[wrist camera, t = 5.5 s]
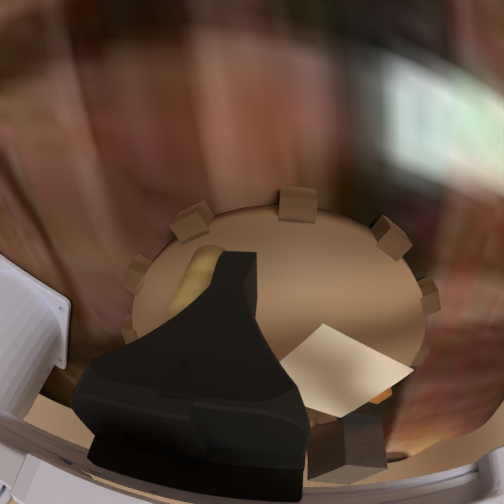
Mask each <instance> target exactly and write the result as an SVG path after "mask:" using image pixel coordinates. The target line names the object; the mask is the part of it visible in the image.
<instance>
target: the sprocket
mask: <svg viewBox="0 0 504 504" xmlns="http://www.w3.org/2000/svg"><path fill="white" fill-rule="evenodd" d="M317 205H318V197H317V193H316V190H315V188H305V187H294V186H281V185H280V197H279V205H262V206H253V207H245V208H241V209H237V210H233V211H228V212H224V213H221V214H218V215H216V216H214V214H213V213H212V211H211V210H210V208H209V206H208V205H207V203H206V202H205V200H203V201H201V202H199V203H197V204H195V205H193V206H191V207H189V208H187V209H185V210H183V211H181V212H179V213H178V214H177V215H176V217H175V218H174V220H173V221H172V222H171V224H170V225H169V226H170V228H171V229H172V231H173V232H174V234H175V235H176V237H175V238H174V239H173V240H172V241H170V242H169V243H168V244H167V245H166V246H165V247H164V248H163V249H162V251H161V252H160V253H159V254H158V255H157V256H156V257H155V259H154V261H153V262H152V261H151V260H149V259H147V258H146V257H144V256H142V255H140V254H139V253H138V254H137V256H136V257H135V259H134V260H133V262H132V263H131V264H130V266H129V268H128V270H127V272H126V275H125V277H124V280H123V282H122V284H121V287H123V288H125V289H127V290H128V291H130V292H132V293H134V294H135V297H134V302H133V308H132V314H127V316H126V318H125V320H124V321H123V323H122V325H121V327H120V329H121V332H122V335H123V338H124V341H125V343H126V344H129V343H131V342H133V341H135V340H137V339H139V338H141V337H142V336H144V335H146V334H148V333H150V332H151V331H153V330H154V329H156V328H158V327H159V326H161V325H162V324H164V323H165V322H167V321H168V320H170V319H171V318H173V317H174V316H176V315H177V314H178V313H179V312H181V311H182V310H183V309H184V308H186V307H187V306H188V305H189V304H190V303H191V302H193V301H194V300H195V299H196V298H197V297H198V296H199V295H200V294H201V293H202V292H203V291H204V290H205V289H206V288H207V287H208V286H209V285H210V283H211V280H212V276H213V273H214V269H215V266H216V262H217V260H218V258H219V256H220V255H221V254H222V252H223V251H243V252H257V295H258V298H257V308H256V317H255V319H256V321H257V323H258V326H259V328H260V330H261V332H262V334H263V336H264V338H265V339H266V341H267V343H268V345H269V346H270V348H271V350H272V352H273V353H274V355H275V356H276V358H277V359H278V361H279V362H280V364H281V365H282V367H283V368H284V370H285V371H286V372H287V374H288V375H289V376H290V377H291V379H292V380H293V381H294V382H295V384H296V385H297V386H298V389H299V392H300V394H301V397H302V400H303V402H304V405H305V408H306V411H307V414H308V418H309V421H313V420H316V421H317V422H318V424H323V423H328V422H332V421H336V420H337V417H340V418H341V417H343V416H345V415H346V414H348V413H350V412H351V411H353V410H355V409H357V408H358V407H360V406H361V405H363V404H365V403H367V402H372V403H375V404H378V403H379V402H381V401H383V400H384V399H386V398H387V397H389V396H390V395H392V391H391V386H392V385H394V384H395V383H397V382H398V381H400V380H401V379H403V378H404V377H405V376H407V375H408V374H410V373H411V372H412V371H413V369H411V368H409V367H410V366H420V365H422V364H423V363H424V361H425V359H426V358H427V356H428V354H429V353H430V351H431V349H430V346H429V344H428V341H427V339H426V336H425V328H426V316H427V315H430V314H432V313H434V312H437V311H439V310H441V308H440V300H439V292H438V289H437V287H436V285H435V284H434V282H433V280H432V278H431V277H430V276H428V277H426V278H424V279H421V280H419V281H416V280H415V278H414V276H413V274H412V272H411V270H410V268H409V266H408V264H407V263H406V261H405V260H404V259H403V257H402V256H403V255H404V254H405V253H406V252H407V251H408V250H409V249H410V248H411V247H412V246H413V245H412V244H411V242H410V240H409V239H408V237H407V236H406V234H405V233H404V231H402V230H401V229H400V228H399V227H398V226H396V225H395V224H394V223H393V222H392V221H390V220H389V219H388V218H387V217H385V216H384V215H382V216H381V217H380V219H379V220H378V221H377V222H376V223H375V224H374V225H373V227H372V228H371V229H370V228H369V227H367V226H365V225H364V224H361V223H359V222H357V221H355V220H353V219H350V218H348V217H346V216H344V215H340V214H337V213H333V212H330V211H327V210H323V209H318V208H317Z"/></svg>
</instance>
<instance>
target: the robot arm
mask: <svg viewBox="0 0 504 504" xmlns="http://www.w3.org/2000/svg"><path fill="white" fill-rule="evenodd" d="M257 298H258V295H257V252H243V251H223V252H222V254H221V255H220V256H219V258H218V260H217V262H216V266H215V269H214V273H213V276H212V280H211V283H210V285H209V286H208V287H207V288H206V289H205V290H204V291H203V292H202V293H201V294H200V295H199V296H198V297H197V298H196V299H195V300H194V301H193V302H191V303H190V304H189V305H188V306H187V307H186V308H184V309H183V310H182V311H181V312H179V313H178V314H177V315H176V316H174V317H173V318H171V319H170V320H168V321H167V322H165V323H164V324H162V325H161V326H159V327H158V328H156V329H154V330H153V331H151V332H150V333H148V334H146V335H144V336H142V337H141V338H139V339H137V340H135V341H133V342H131V343H129V344H127V345H125V346H123V347H121V348H118V349H116V350H113V351H111V352H109V353H106V354H104V355H101V356H99V357H96V358H93V359H91V360H90V362H89V363H88V365H87V367H86V368H85V370H84V372H83V374H82V376H81V378H80V379H79V381H78V383H77V385H76V387H75V389H74V391H73V393H72V395H71V398H70V404H71V407H72V409H73V411H74V412H75V414H76V415H77V416H78V417H79V419H80V420H81V421H82V422H83V423H84V424H85V425H86V426H87V428H88V429H89V430H90V431H91V432H92V433H93V434H94V435H95V437H94V439H93V442H92V444H91V447H90V449H87V448H84V447H82V446H79V445H76V444H74V443H72V442H69V441H67V440H64V439H62V438H60V437H57V436H55V435H53V434H51V433H48V432H46V431H44V430H42V429H40V428H38V427H35V426H34V425H32V424H29V423H27V422H26V421H24V420H22V419H24V417H26V415H27V414H28V412H29V411H30V409H31V407H32V405H33V403H34V401H35V399H36V397H37V395H38V394H39V392H40V390H41V388H42V386H43V384H44V383H45V381H46V379H47V377H48V375H49V374H50V372H51V370H52V368H53V367H54V365H56V366H58V367H59V368H61V369H65V368H66V366H67V347H68V333H69V321H70V311H71V303H70V301H69V300H68V299H67V298H66V297H64V296H63V295H61V294H59V293H58V292H56V291H55V290H53V289H51V288H50V287H48V286H47V285H45V284H43V283H42V282H40V281H39V280H37V279H36V278H34V277H33V276H31V275H30V274H28V273H27V272H25V271H24V270H22V269H21V268H19V267H18V266H16V265H15V264H13V263H12V262H11V261H9V260H8V259H6V258H5V257H4V256H2V255H1V254H0V504H9V503H10V502H11V500H12V499H14V500H15V501H16V502H18V503H19V504H169V503H165V502H162V501H158V500H155V499H152V498H148V497H145V496H142V495H138V494H135V493H132V492H128V491H125V490H122V489H119V488H116V487H113V486H110V485H108V484H105V483H102V482H99V481H97V480H94V479H93V478H92V477H91V476H90V475H88V474H86V473H84V472H87V473H90V474H92V475H94V476H97V477H100V478H103V479H105V480H108V481H111V482H114V483H117V484H120V485H123V486H126V487H129V488H132V489H136V490H139V491H142V492H146V493H150V494H153V495H157V496H161V497H165V498H170V499H174V500H179V501H183V502H189V503H194V504H504V445H503V446H500V447H498V448H495V449H494V450H491V451H489V452H488V453H486V454H485V455H484V456H482V457H481V458H480V459H479V460H478V461H477V462H475V463H471V464H468V465H464V466H461V467H457V468H454V469H450V470H446V471H442V472H437V473H433V474H428V475H424V476H419V477H414V478H408V479H402V480H396V481H389V482H382V483H374V484H364V485H353V486H340V487H339V486H338V487H307V488H306V487H303V471H304V468H305V453H306V450H307V447H308V444H309V442H310V438H311V429H310V422H309V418H308V414H307V411H306V408H305V405H304V402H303V400H302V397H301V394H300V392H299V389H298V386H297V385H296V384H295V382H294V381H293V380H292V379H291V377H290V376H289V375H288V374H287V372H286V371H285V370H284V368H283V367H282V365H281V364H280V362H279V361H278V359H277V358H276V356H275V355H274V353H273V352H272V350H271V348H270V346H269V345H268V343H267V341H266V339H265V338H264V336H263V334H262V332H261V330H260V328H259V326H258V323H257V321H256V319H255V317H256V308H257ZM78 469H79V470H78ZM80 470H82V471H84V472H82V471H80Z"/></svg>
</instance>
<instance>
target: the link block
mask: <svg viewBox="0 0 504 504" xmlns="http://www.w3.org/2000/svg"><path fill="white" fill-rule="evenodd" d="M310 429H311V438H310V442H309V444H308V477H307V480H308V481H316V482H325V483H336V484H351V483H354V482H357V481H359V480H362V479H364V478H367V477H369V476H372V475H374V474H376V473H378V472H381V471H383V470H386V469H387V459H386V451H385V444H384V437H383V430H382V424H381V418H378V417H373V416H369V415H365V414H361V413H357V412H353V411H351V412H350V413H348V414H346V415H345V416H343V417H341V418H340V417H337V420H336V421H332V422H328V423H323V424H317V425H315V426H313V427H312V428H310Z"/></svg>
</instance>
